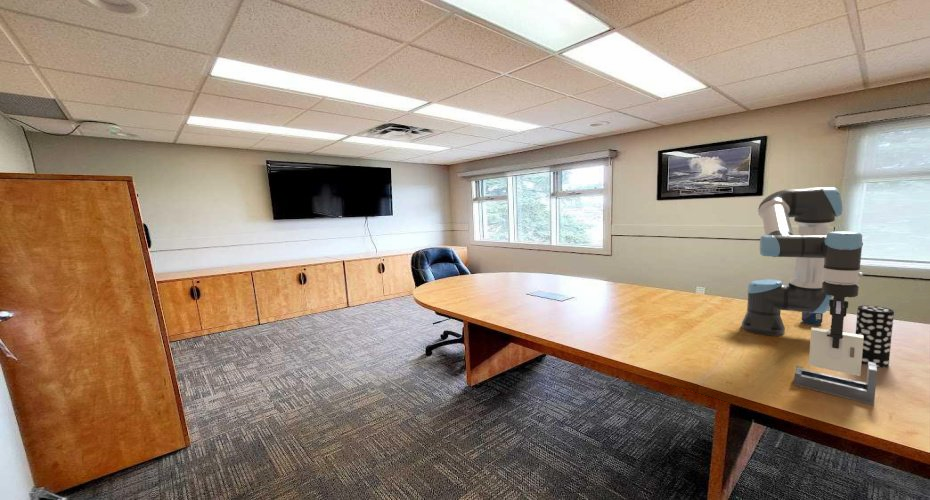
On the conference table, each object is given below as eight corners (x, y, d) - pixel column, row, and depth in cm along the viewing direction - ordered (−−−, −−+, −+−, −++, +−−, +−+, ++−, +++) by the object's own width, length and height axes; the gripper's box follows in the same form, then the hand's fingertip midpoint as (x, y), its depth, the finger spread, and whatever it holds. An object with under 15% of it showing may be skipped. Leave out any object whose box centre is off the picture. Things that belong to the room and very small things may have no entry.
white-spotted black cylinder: (893, 369, 119) (899, 313, 116) (858, 364, 123) (863, 310, 121) (881, 359, 126) (886, 306, 123) (849, 355, 130) (853, 304, 128)
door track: (793, 385, 113) (795, 354, 111) (795, 377, 117) (797, 348, 116) (873, 405, 100) (877, 371, 99) (872, 395, 105) (875, 362, 103)
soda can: (797, 320, 167) (798, 297, 165) (813, 320, 166) (815, 296, 164) (809, 325, 160) (811, 301, 158) (826, 325, 159) (828, 300, 157)
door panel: (808, 365, 111) (810, 330, 109) (809, 362, 113) (811, 327, 111) (860, 376, 102) (863, 338, 101) (860, 372, 105) (863, 335, 103)
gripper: (859, 289, 96) (853, 367, 99) (858, 278, 107) (852, 350, 110) (821, 285, 102) (816, 360, 105) (823, 276, 112) (818, 344, 115)
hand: (834, 355), depth 107 cm, fingers closed on door panel, 3 cm apart
